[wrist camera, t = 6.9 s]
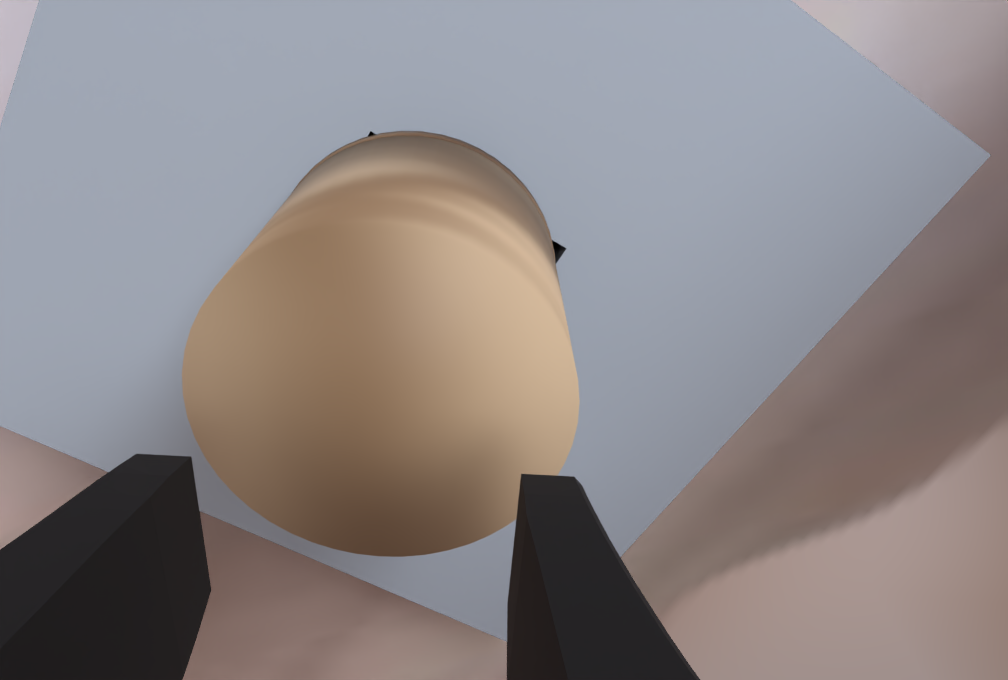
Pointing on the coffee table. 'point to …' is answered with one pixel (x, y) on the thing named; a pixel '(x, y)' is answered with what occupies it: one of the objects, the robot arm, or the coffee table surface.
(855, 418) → the coffee table surface
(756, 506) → the coffee table surface
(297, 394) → the oak peg
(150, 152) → the mortise board
